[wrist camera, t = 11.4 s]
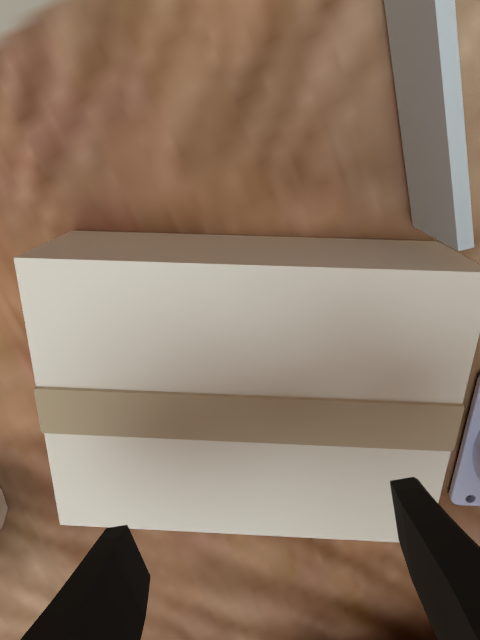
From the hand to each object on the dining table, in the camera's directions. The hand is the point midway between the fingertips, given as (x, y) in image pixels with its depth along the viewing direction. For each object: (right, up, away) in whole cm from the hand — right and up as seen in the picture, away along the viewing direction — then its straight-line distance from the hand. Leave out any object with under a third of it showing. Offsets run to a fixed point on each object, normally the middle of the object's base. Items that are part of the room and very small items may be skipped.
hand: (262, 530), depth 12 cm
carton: (0, +4, +10) cm, 10 cm away
